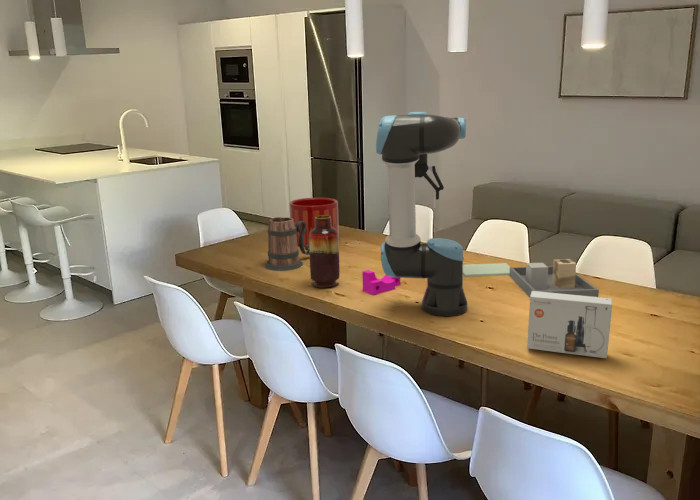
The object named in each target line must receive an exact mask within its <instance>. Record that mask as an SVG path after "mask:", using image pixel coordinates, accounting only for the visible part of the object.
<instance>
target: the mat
mask: <svg viewBox="0 0 700 500" xmlns="http://www.w3.org/2000/svg"><path fill="white" fill-rule="evenodd" d="M510 267H511V266H510V265H509V264H508V263H507V262H499V263H494V262H493V263H474V264H473V263H470V264H468V263H467V264H463V277H464V278H468V277H469V278H470V277H471V278H473V277H492V276H494V277H495V276H496V277H497V276H499V277H500V276H509V272H510Z"/></svg>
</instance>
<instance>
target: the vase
mask: <svg viewBox="0 0 700 500" xmlns="http://www.w3.org/2000/svg"><path fill="white" fill-rule="evenodd" d="M339 243H340V237H339V238H338V231H337V230H336V229H334V228H332V227H331V217H330V216H325V215H323V216H316V217H315V228H314V229H312V230H311V231H310V232H309V247H308V249H309V254H310V255H309V267H310V268H309V273H310V280H312V281H313V286H314V287H315V288H319V289H329V288H333V287H336V286H337V285H338V281H337V280H339V279H340V273H341V271H340V245H339Z"/></svg>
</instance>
